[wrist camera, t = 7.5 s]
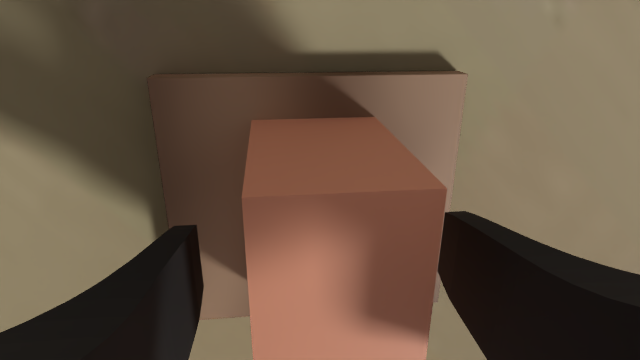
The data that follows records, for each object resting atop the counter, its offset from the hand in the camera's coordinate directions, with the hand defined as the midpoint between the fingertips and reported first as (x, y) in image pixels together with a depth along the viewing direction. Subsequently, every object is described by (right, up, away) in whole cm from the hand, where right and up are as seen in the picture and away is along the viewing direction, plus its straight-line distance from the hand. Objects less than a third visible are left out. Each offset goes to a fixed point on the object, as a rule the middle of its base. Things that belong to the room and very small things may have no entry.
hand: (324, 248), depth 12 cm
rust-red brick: (0, +1, +3) cm, 3 cm away
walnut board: (0, +1, +3) cm, 4 cm away
